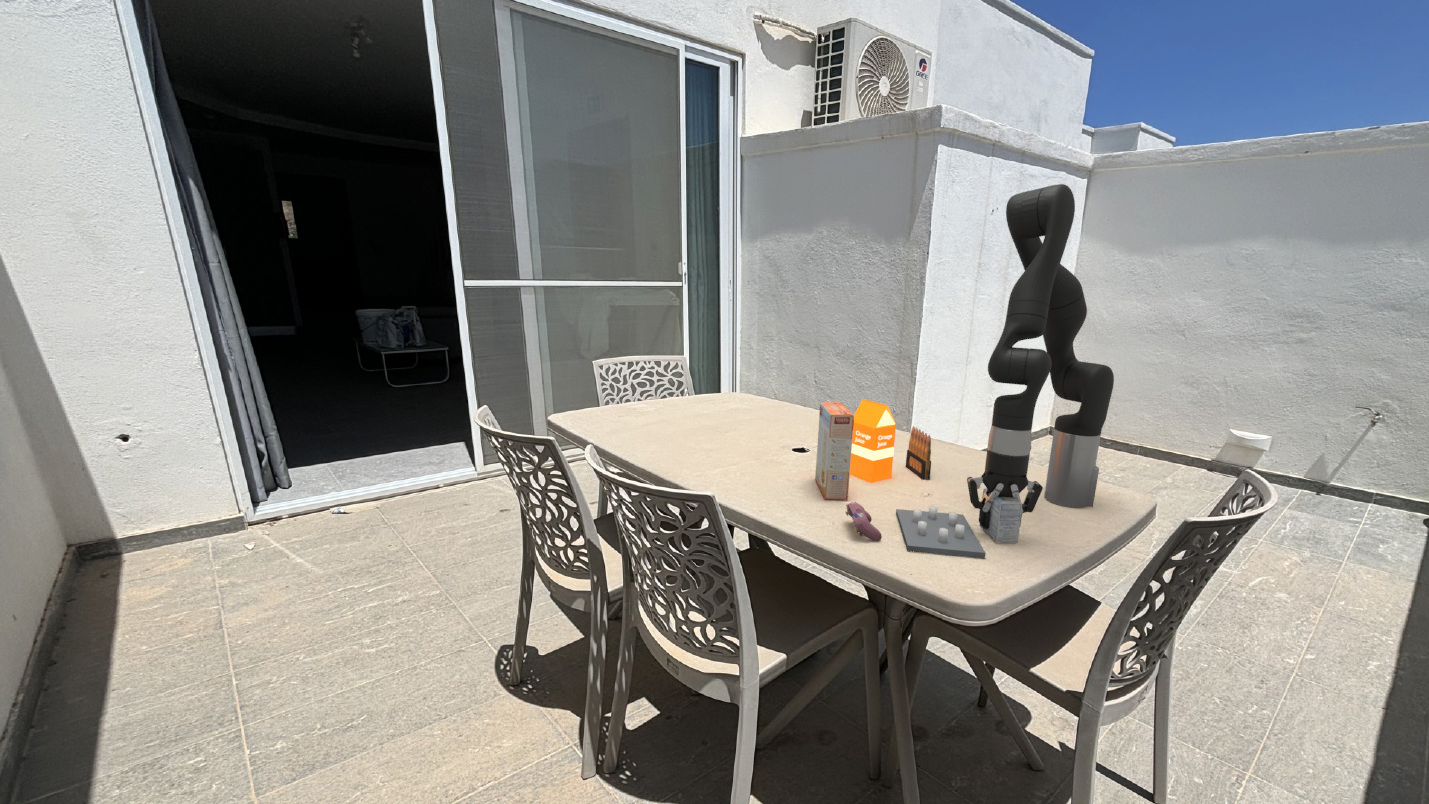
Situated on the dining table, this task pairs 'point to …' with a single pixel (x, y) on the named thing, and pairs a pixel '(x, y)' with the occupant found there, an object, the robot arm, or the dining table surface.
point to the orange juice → (872, 442)
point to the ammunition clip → (919, 454)
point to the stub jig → (938, 533)
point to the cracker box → (834, 450)
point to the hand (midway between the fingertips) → (998, 528)
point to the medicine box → (1004, 519)
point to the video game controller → (863, 521)
